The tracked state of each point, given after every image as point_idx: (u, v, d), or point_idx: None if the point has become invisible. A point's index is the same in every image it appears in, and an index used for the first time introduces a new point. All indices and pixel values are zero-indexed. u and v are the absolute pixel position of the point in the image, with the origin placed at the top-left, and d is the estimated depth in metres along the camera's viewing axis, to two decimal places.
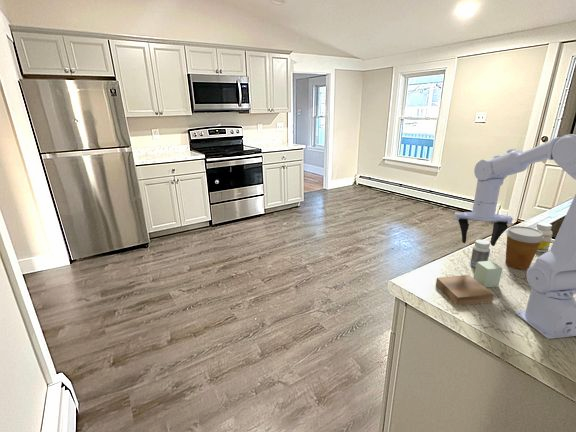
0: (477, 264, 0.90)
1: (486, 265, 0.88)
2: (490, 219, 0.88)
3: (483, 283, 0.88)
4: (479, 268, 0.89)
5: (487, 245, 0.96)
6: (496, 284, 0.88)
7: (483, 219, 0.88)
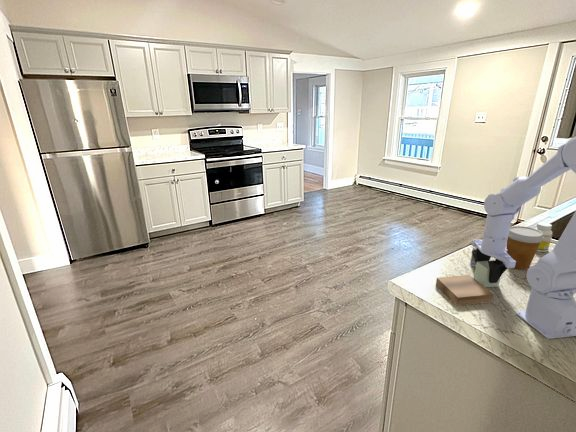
0: (477, 264, 0.90)
1: (486, 265, 0.88)
2: (486, 253, 0.85)
3: (483, 283, 0.88)
4: (480, 268, 0.89)
5: None
6: (496, 284, 0.88)
7: (481, 251, 0.87)
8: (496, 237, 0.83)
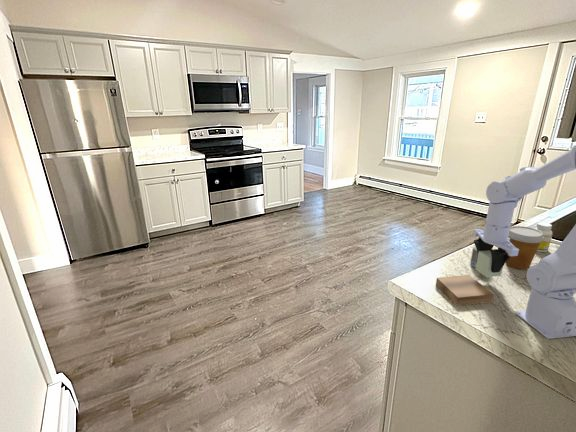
0: (479, 253, 0.89)
1: (488, 254, 0.87)
2: (489, 242, 0.84)
3: (485, 272, 0.87)
4: (482, 257, 0.88)
5: None
6: (499, 274, 0.87)
7: (483, 240, 0.86)
8: (499, 225, 0.81)
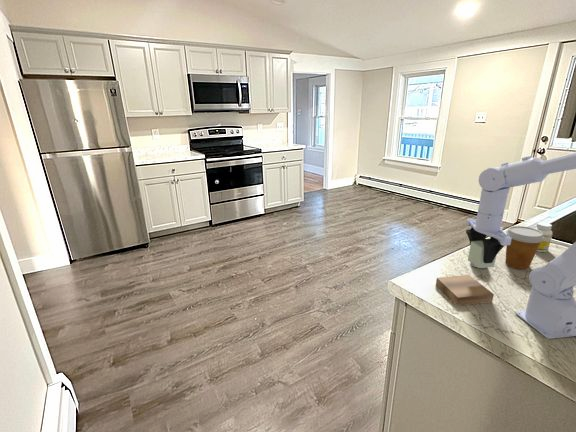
0: (471, 244, 0.85)
1: (480, 244, 0.83)
2: (481, 231, 0.81)
3: (478, 263, 0.83)
4: (474, 248, 0.84)
5: None
6: (492, 265, 0.83)
7: (475, 229, 0.82)
8: (494, 214, 0.78)
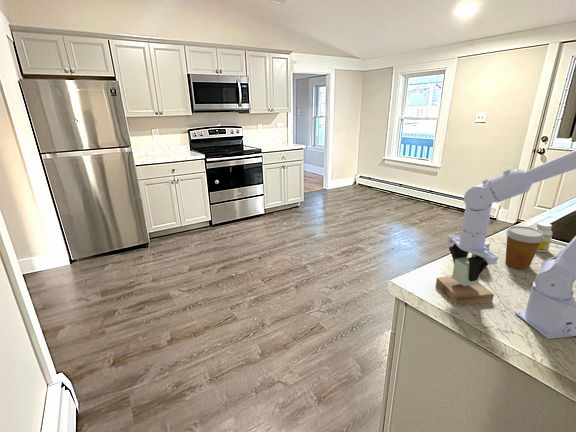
0: (456, 261, 0.84)
1: (465, 262, 0.82)
2: (466, 250, 0.79)
3: (463, 281, 0.82)
4: (459, 266, 0.83)
5: (487, 245, 0.96)
6: (476, 282, 0.82)
7: (460, 247, 0.80)
8: (481, 232, 0.76)
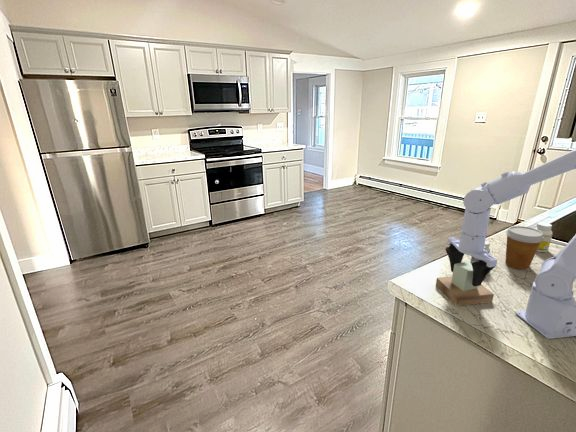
0: (455, 266, 0.84)
1: (464, 267, 0.82)
2: (466, 252, 0.79)
3: (462, 286, 0.82)
4: (458, 271, 0.83)
5: (487, 245, 0.96)
6: (475, 287, 0.83)
7: (459, 250, 0.81)
8: (481, 235, 0.77)
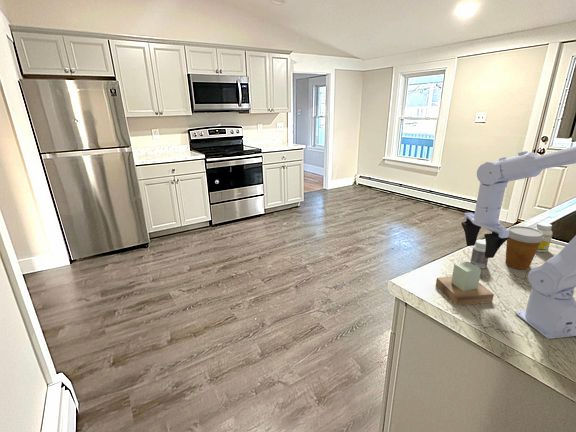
0: (455, 266, 0.84)
1: (464, 267, 0.82)
2: (479, 224, 0.82)
3: (462, 286, 0.82)
4: (458, 271, 0.83)
5: None
6: (475, 287, 0.83)
7: (474, 222, 0.84)
8: (491, 207, 0.80)
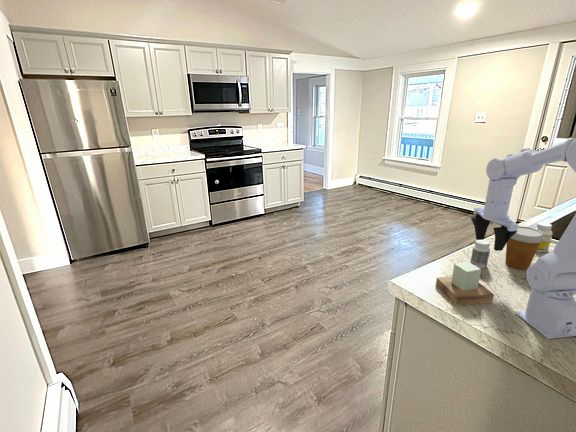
0: (455, 266, 0.84)
1: (464, 267, 0.82)
2: (489, 218, 0.86)
3: (462, 286, 0.82)
4: (458, 271, 0.83)
5: (487, 245, 0.96)
6: (475, 287, 0.83)
7: (483, 217, 0.88)
8: (497, 201, 0.84)
